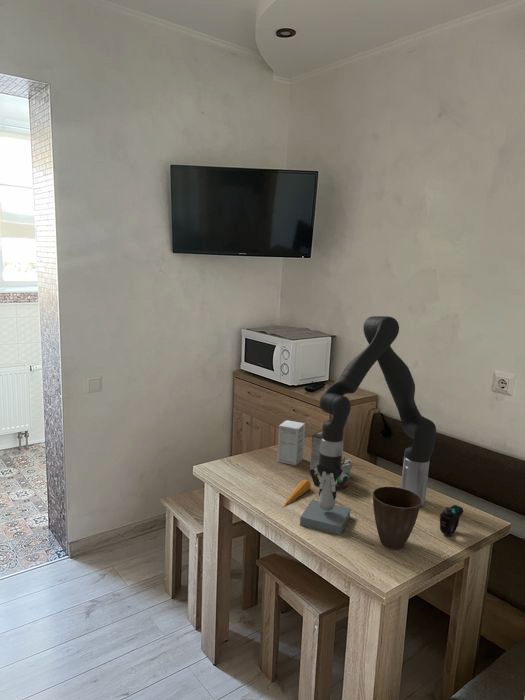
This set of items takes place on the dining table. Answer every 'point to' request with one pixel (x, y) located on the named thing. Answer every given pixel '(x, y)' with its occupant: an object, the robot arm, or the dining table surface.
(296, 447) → the supplement box
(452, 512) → the controller
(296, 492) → the carrot
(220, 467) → the dining table surface
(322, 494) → the salt shaker
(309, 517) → the base plinth
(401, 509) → the plant pot
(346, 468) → the food container
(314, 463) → the coffee box
